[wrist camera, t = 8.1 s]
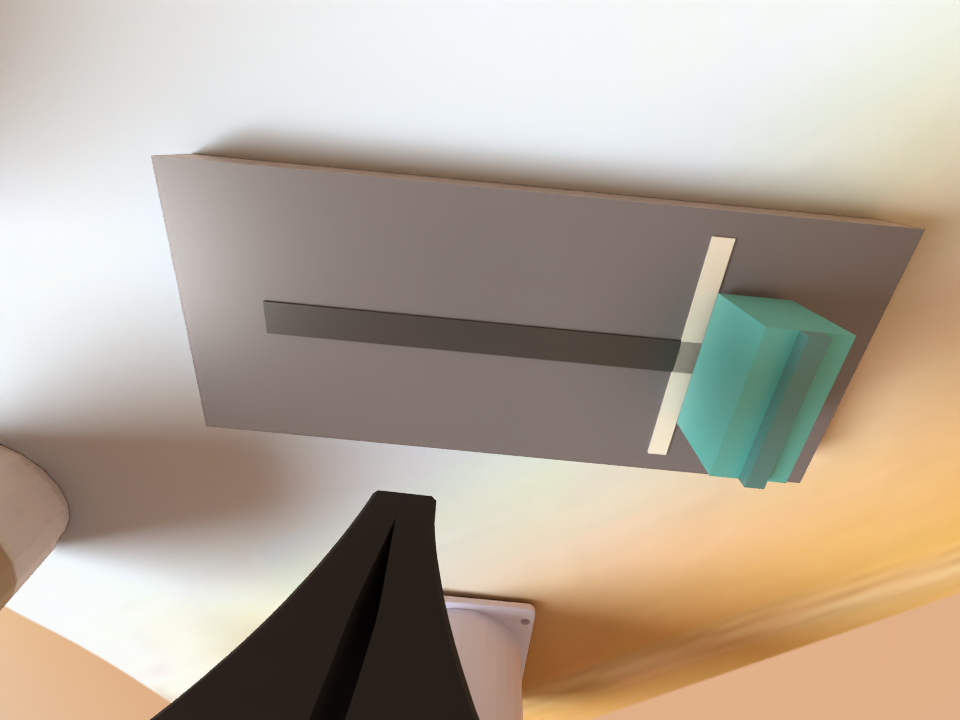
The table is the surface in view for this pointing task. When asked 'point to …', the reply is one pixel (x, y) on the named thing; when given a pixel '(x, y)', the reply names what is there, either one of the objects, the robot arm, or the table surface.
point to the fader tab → (759, 386)
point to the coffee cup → (26, 520)
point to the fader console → (488, 305)
